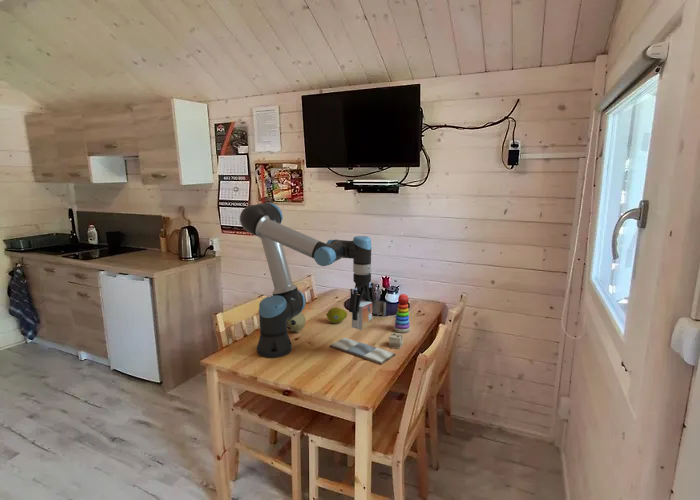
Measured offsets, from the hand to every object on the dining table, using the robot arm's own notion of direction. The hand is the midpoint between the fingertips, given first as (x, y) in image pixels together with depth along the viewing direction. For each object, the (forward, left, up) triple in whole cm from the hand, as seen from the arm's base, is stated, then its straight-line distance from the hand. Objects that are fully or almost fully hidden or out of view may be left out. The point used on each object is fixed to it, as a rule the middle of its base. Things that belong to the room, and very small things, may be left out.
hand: (362, 323), depth 180 cm
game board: (0, 0, -13) cm, 13 cm away
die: (+14, -9, -13) cm, 21 cm away
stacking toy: (+31, -2, -13) cm, 34 cm away
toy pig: (-3, +39, -13) cm, 41 cm away
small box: (0, 0, -1) cm, 1 cm away
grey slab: (+42, +21, -14) cm, 49 cm away
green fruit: (+19, +30, -13) cm, 38 cm away
